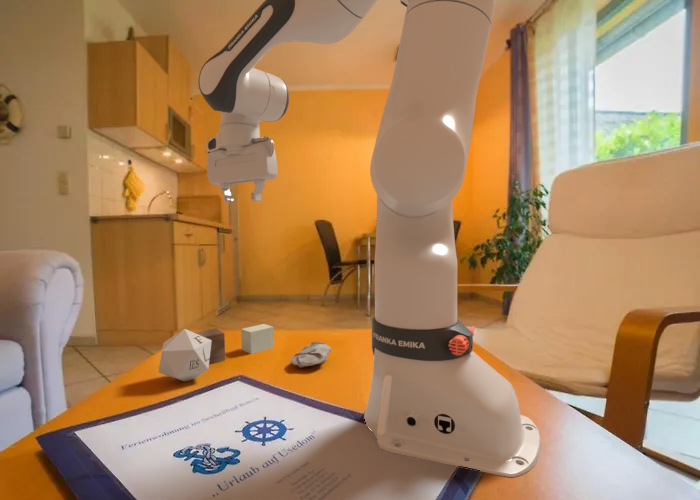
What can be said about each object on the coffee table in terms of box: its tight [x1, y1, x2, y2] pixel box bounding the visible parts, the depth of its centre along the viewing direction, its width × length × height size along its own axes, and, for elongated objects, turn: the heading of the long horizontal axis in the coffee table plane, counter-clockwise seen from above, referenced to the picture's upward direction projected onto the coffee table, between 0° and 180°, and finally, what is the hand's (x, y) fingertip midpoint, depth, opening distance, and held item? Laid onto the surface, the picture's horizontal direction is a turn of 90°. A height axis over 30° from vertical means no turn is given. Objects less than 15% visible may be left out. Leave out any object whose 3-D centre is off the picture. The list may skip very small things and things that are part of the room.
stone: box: [289, 341, 332, 368], centre depth 75 cm, size 10×7×3 cm
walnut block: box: [192, 328, 226, 365], centre depth 77 cm, size 5×5×6 cm
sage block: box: [241, 323, 275, 355], centre depth 84 cm, size 4×6×5 cm, turn 137°
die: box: [158, 328, 212, 383], centre depth 66 cm, size 8×9×10 cm
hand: (242, 201), depth 85 cm, fingers open, 8 cm apart
